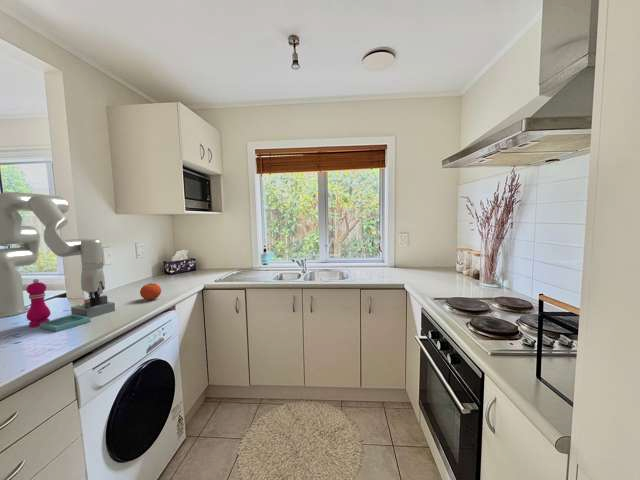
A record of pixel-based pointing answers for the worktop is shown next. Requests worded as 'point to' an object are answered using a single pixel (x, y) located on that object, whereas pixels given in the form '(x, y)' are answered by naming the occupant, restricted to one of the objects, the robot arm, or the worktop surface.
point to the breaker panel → (93, 309)
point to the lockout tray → (64, 323)
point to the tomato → (150, 291)
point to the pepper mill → (37, 304)
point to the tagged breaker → (87, 303)
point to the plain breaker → (103, 299)
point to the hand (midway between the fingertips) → (95, 305)
